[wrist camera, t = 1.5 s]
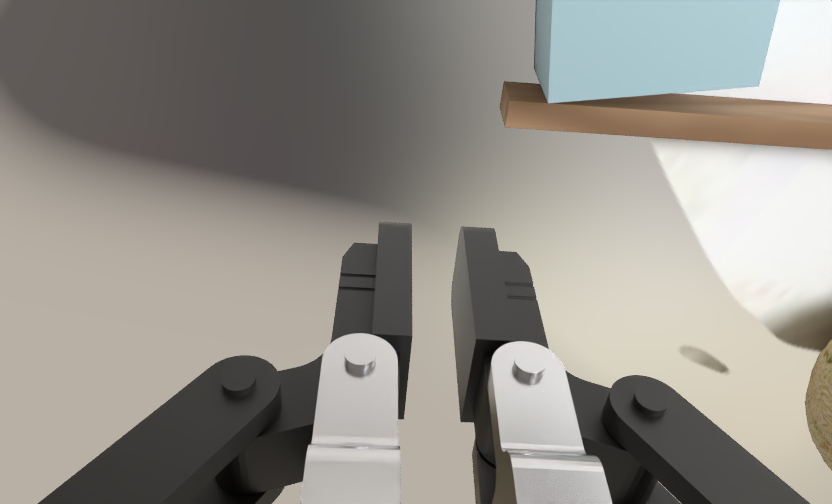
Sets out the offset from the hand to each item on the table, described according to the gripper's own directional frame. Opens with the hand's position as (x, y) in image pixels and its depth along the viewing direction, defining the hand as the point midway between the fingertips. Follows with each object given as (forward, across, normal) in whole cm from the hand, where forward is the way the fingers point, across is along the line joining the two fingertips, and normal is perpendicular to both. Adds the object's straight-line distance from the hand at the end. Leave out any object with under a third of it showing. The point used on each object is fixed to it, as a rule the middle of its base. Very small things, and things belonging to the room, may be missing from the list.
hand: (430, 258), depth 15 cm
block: (+22, -11, 0) cm, 25 cm away
